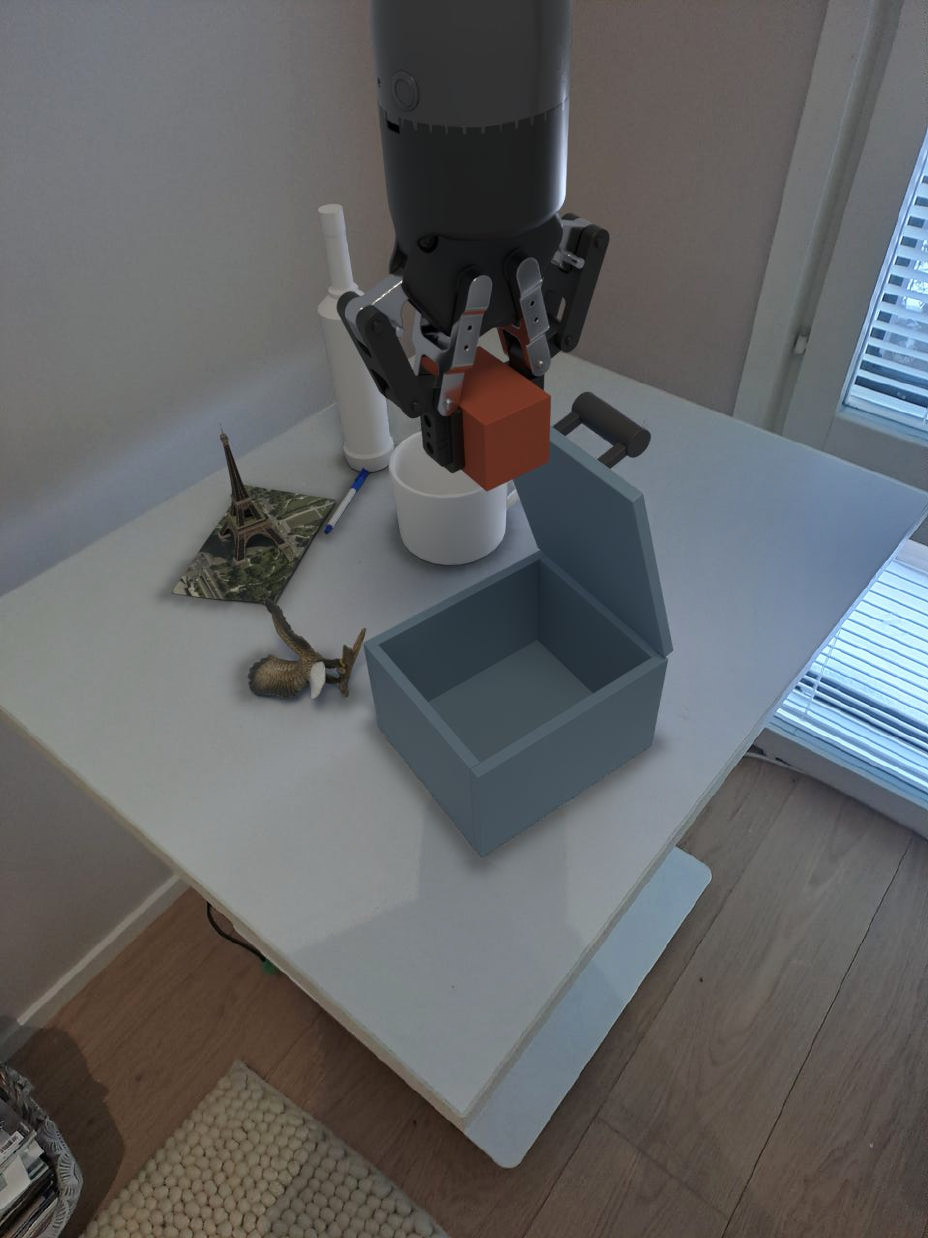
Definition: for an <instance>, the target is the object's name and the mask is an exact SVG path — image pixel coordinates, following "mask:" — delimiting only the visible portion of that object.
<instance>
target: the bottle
mask: <svg viewBox="0 0 928 1238" xmlns="http://www.w3.org/2000/svg"><path fill="white" fill-rule="evenodd" d="M317 212H318V218H319V219H318V220H319V224H320V231H321V234H322V237H323V243H324V251H325V255H326V261H327V267H328V273H329V280H330V285H329V287H328V290H327V291H328V294H327V295H326V296H325V297H324V298H323V299H322V301H321V302H320V303H319V305H318V306H317V315H318V321H319V325H320V330H321V335H322V339H323V345H324V349H325V354H326V359H327V364H328V369H329V373H330V378H331V383H332V388H333V392H334V397H335V398H334V399H335V402H336V408H337V412H338V417H339V422H340V425H341V432H342V436H343V441H344V443H343V446H342V447H343V448H342V449H343V454H344V458H345V460H346V462H347V464H348V465H349V467H350V468H351V469H353V470H355V471H356V472H360V471H361V470H362V469H363V468H365V469H364V470H368V471H369V473H374V472H379V471H382V470H384V469H386V468H388V467H389V460H390V458H391V456H392V454H393V452H394V449H395V442H394V438H393V437H392V436H391V433H390V432H391V431H390V424H389V415H388V414H389V413H388V408H387V406H388V405H387V398H385V397H384V396H383V395H382V394H381V393H380V392H379V390H378V388H377V386H376V384H375V382H374V380H373V379H372V377H371V375H370V373H369V371H368V369H367V367H366V365H365V363H364V362H363V360H362V358H361V356H360V354H359V352H358V350H357V348H356V346H355V345H354V343H353V341H352V339H351V337H350V335H349V333H348V331H347V329H346V328H345V326H344V324H343V322H342V320H341V318H340V316H339V314H338V312H337V308H336V306H337V302H338V299H339V298H340V296H341V295H342V294H344V293H345V292H348V291H353V292H356V293H357V294H358V295H360V296H362V295H364V294H365V293H366V292H363V290H361V289H359V285H358V284H357V283H355V282H354V277H353V271H352V264H351V258H350V252H349V251H350V250H349V244H348V238H347V233H346V232H347V228H346V221H345V214H344V208H343V205H341V204H338V203H328V204H324V205H322V206H320V207H318V209H317Z"/></svg>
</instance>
